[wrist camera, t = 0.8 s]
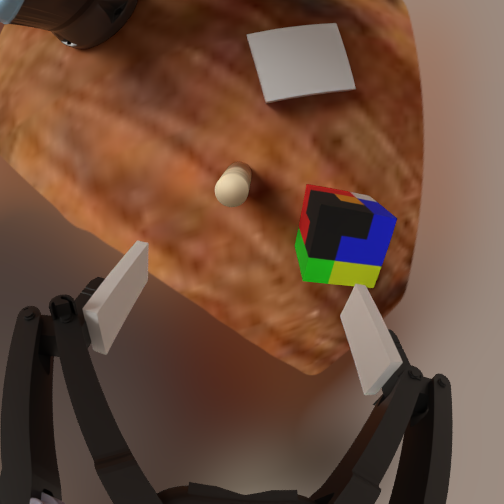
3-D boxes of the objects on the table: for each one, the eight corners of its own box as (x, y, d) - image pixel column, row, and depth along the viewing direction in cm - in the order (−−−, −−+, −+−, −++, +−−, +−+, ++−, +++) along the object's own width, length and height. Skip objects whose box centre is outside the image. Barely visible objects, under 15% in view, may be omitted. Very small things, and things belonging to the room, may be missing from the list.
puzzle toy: (368, 195, 38) (397, 218, 29) (353, 253, 43) (373, 288, 34) (306, 184, 38) (320, 204, 29) (294, 246, 42) (302, 281, 33)
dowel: (223, 165, 37) (210, 179, 28) (248, 159, 36) (243, 171, 28) (229, 188, 39) (220, 210, 30) (254, 183, 38) (252, 202, 29)
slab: (247, 41, 29) (246, 34, 26) (330, 30, 27) (336, 23, 24) (265, 104, 33) (266, 101, 30) (347, 91, 32) (355, 88, 28)
